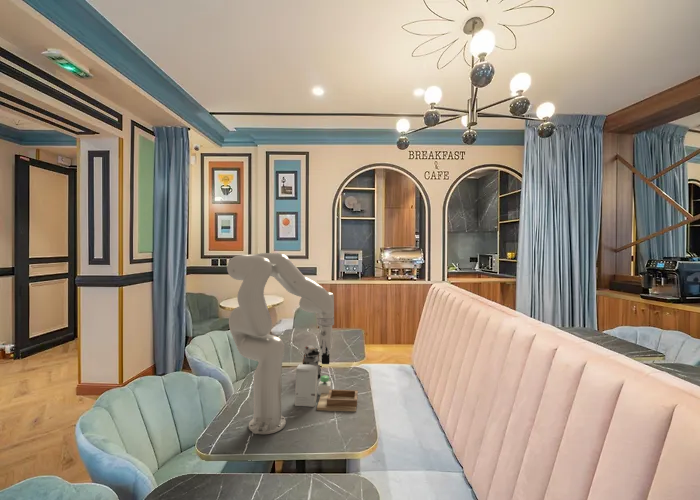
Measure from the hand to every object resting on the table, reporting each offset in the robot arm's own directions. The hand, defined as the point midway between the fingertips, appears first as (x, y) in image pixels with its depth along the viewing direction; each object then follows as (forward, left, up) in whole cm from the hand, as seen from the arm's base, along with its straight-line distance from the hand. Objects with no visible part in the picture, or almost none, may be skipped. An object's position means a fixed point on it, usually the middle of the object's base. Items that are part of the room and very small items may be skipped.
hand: (325, 363), depth 150 cm
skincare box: (-11, +6, -13) cm, 18 cm away
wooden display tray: (-10, -6, -13) cm, 17 cm away
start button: (0, 0, -11) cm, 11 cm away
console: (0, 0, -13) cm, 13 cm away
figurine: (+16, +9, -13) cm, 22 cm away
